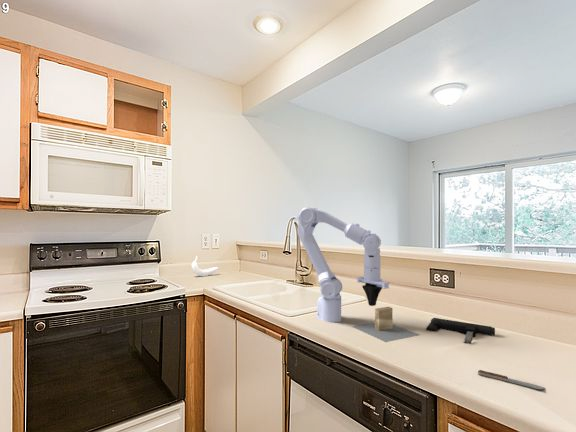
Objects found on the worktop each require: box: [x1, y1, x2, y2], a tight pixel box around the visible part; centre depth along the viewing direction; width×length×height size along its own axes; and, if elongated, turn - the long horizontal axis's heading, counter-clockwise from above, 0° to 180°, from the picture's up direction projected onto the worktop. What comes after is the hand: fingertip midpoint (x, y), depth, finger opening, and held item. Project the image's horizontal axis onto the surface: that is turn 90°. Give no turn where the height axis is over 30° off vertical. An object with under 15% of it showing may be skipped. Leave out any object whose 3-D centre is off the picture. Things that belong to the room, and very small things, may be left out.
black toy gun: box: [425, 317, 496, 345], centre depth 113 cm, size 3×20×16 cm
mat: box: [351, 321, 421, 343], centre depth 114 cm, size 17×15×1 cm
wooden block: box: [374, 306, 393, 331], centre depth 116 cm, size 2×6×7 cm, turn 117°
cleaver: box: [477, 369, 545, 391], centre depth 80 cm, size 13×2×5 cm
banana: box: [190, 255, 219, 277], centre depth 229 cm, size 5×19×15 cm, turn 134°
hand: (372, 305), depth 122 cm, fingers closed
